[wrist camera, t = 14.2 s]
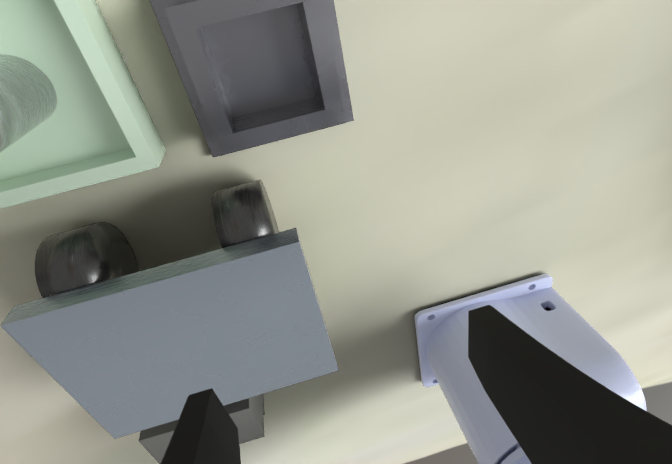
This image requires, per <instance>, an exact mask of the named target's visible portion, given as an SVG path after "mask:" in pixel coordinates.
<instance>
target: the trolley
mask: <svg viewBox="0 0 672 464" xmlns="http://www.w3.org/2000/svg"><path fill="white" fill-rule="evenodd" d="M212 207H213V215H214V220H215V225H216V229H217V233H218V236H219V240H220V243H221V246H222V249H218V250H215V251H211V252H207V253H204V254H200V255H197V256H193V257H189V258H186V259H182V260H179V261H175V262H171V263H168V264H164V265H161V266H157V267H153V268H150V269H146V270H143V271H139V270H138V265H137V262H136V259H135V256H134V253H133V251H132V249H131V247H130V245H129V243H128V241H127V240H126V238H125V237H124V236H123V234H122V233H121V232H120V231H119V230H118V229H117V228H116V227H114V226H113V225H111V224H109V223H106V222H100V223H96V224H92V225H88V226H85V227H81V228H77V229H73V230H70V231H66V232H62V233H59V234H55V235H51V236H49V237H47V238H46V239H44V240H43V242H42V243H41V244H40V246H39V248H38V250H37V253H36V258H35V276H36V281H37V285H38V288H39V291H40V293H41V296H42V299H39V300H35V301H31V302H28V303H24V304H21V305H17V306H14V307H13V308H12V310H11V311H10V313H9V314H8V315H7V317H6V318H5V320H4V321H3V323H2V324H1V325H0V326H1V327H2V328H3V329H4V330H5V331H6V332H7V333H8V334H9V335H10V336H11V337H12V338H13V339H14V340H15V341H16V342H17V343H18V344H19V345H20V346H21V347H22V348H23V349H24V350H25V351H26V352H27V353H28V354H29V355H30V356H31V357H33V358H34V359H35V360H36V361H37V362H38V363H39V364H40V365H41V366H42V367H43V368H44V369H45V370H46V371H47V372H48V373H49V374H50V375H51V376H52V377H53V378H54V379H55V380H56V381H57V382H58V383H59V384H60V385H61V386H62V387H63V388H64V389H65V390H66V391H67V392H68V393H69V394H70V395H71V396H72V397H73V398H74V399H75V400H76V401H77V402H78V403H79V404H80V405H81V406H82V407H83V408H84V409H85V410H86V411H87V412H88V413H89V414H90V415H91V416H92V417H93V418H94V419H95V420H96V421H97V422H98V423H99V424H100V425H101V426H102V427H103V428H105V429H106V430H107V431H108V432H109V433H110V434H111V435H112V436H113V437H114V438H115V439H116V438H119V437H122V436H126V435H129V434H132V433H135V432H139V431H142V430H145V429H149V428H152V427H155V426H158V425H162V424H165V423H168V422H172V421H175V420H178V419H179V417H180V415H181V412H182V410H183V407H184V405H185V402H186V400H187V398H188V396H189V395H191V394H194V393H197V392H201V391H204V390H207V389H211V388H212V389H213V390H214V392H215V394H216V395H217V397H218V398H219V400H220V401H221V403H222V404H223V406H224V405H227V404H231V403H234V402H237V401H240V400H244V399H247V398H250V397H254V396H257V395H260V394H263V393H267V392H270V391H273V390H277V389H280V388H283V387H286V386H290V385H293V384H296V383H300V382H303V381H306V380H309V379H313V378H316V377H319V376H323V375H326V374H329V373H332V372H336V371H339V370H338V366H337V362H336V358H335V354H334V351H333V348H332V344H331V341H330V338H329V335H328V331H327V328H326V325H325V321H324V318H323V315H322V312H321V308H320V305H319V302H318V298H317V295H316V292H315V289H314V285H313V282H312V279H311V275H310V272H309V269H308V266H307V262H306V259H305V256H304V252H303V249H302V246H301V243H300V239H299V236H298V233H297V229H296V228H294V229H290V230H286V231H283V232H279V231H278V227H277V223H276V220H275V216H274V213H273V210H272V207H271V204H270V201H269V198H268V195H267V192H266V190H265V187H264V185H263V183H262V181H261V180H256V181H252V182H248V183H245V184H241V185H237V186H234V187H230V188H226V189H222V190H219V191H215V192H214V193H213V196H212Z"/></svg>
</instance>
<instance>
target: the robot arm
mask: <svg viewBox="0 0 672 464" xmlns="http://www.w3.org/2000/svg"><path fill="white" fill-rule="evenodd" d="M552 282H553V278H552V277H551V276H550V275H549V274H542V275H538V276H535V277H532V278H528V279H525V280H522V281H518V282H515V283H512V284H508V285H505V286H502V287H498V288H495V289H492V290H488V291H485V292H482V293H478V294H475V295H471V296H468V297H465V298H461V299H458V300H455V301H451V302H448V303H445V304H441V305H438V306H435V307H431V308H428V309H425V310H421V311H419V312H418V313H416V315H415V327H416V336H417V345H418V354H419V364H420V373H421V381H422V384H423V386H425V387H430V386H433V385H437V384H439V385H440V387H441V389H442V391H443V393H444V395H445V397H446V399H447V401H448V403H449V405H450V408H451V410H452V412H453V414H454V416H455V418H456V420H457V422H458V424H459V426H460V428H461V430H462V432H463V434H464V436H465V438H466V440H467V442H468V444H469V446H470V448H471V450H472V452H473V454H474V456H475V458H476V460H477V462H478V464H672V425H670V424H668V423H667V422H665V421H663V420H661V419H659V418H657V417H655V416H654V415H652V414H650V413H649V412H647V411H646V402H645V398H644V395H643V392H642V389H641V387H640V385H639V383H638V381H637V379H636V377H635V376H634V374H633V372H632V371H631V369H630V368H629V366H628V365H627V363H626V362H625V361H624V359H623V358H622V357H621V356H620V354H619V353H618V352H617V351H616V350H615V349H614V348H613V347H612V346H611V345H610V344H609V343H608V342H607V341H606V340H605V339H604V338H603V337H602V336H601V335H600V334H599V333H598V332H597V331H596V330H595V329H594V328H593V327H592V326H591V325H590V324H589V323H588V322H586V321H585V320H584V319H583V318H582V317H581V316H580V315H579V314H578V313H577V312H576V311H575V310H574V309H573V308H572V307H571V306H570V305H569V304H568V303H567V302H566V301H565V300H564V299H563V298H562V297H561V296H560V295H559V294H558V293H557V292H556V291H555V290H554V289H553V288H552ZM429 315H430V316H429ZM160 464H241V461H240V447H239V436H238V428H237V426H236V425H235V423H234V422H233V420H232V419H231V417H230V415H229V414H228V412H227V411H226V409H225V408H224V406H223V404H222V403H221V401H220V400H219V398H218V397H217V395H216V394H215V392H214V390H213V389H212V388H211V389H207V390H204V391H201V392H197V393H194V394H191V395H189V396H188V398H187V400H186V402H185V405H184V407H183V410H182V412H181V415H180V417H179V420H178V423H177V425H176V428H175V430H174V432H173V435H172V437H171V440H170V442H169V445H168V447H167V449H166V452H165V454H164V457H163V459H162V461H161V463H160Z"/></svg>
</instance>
